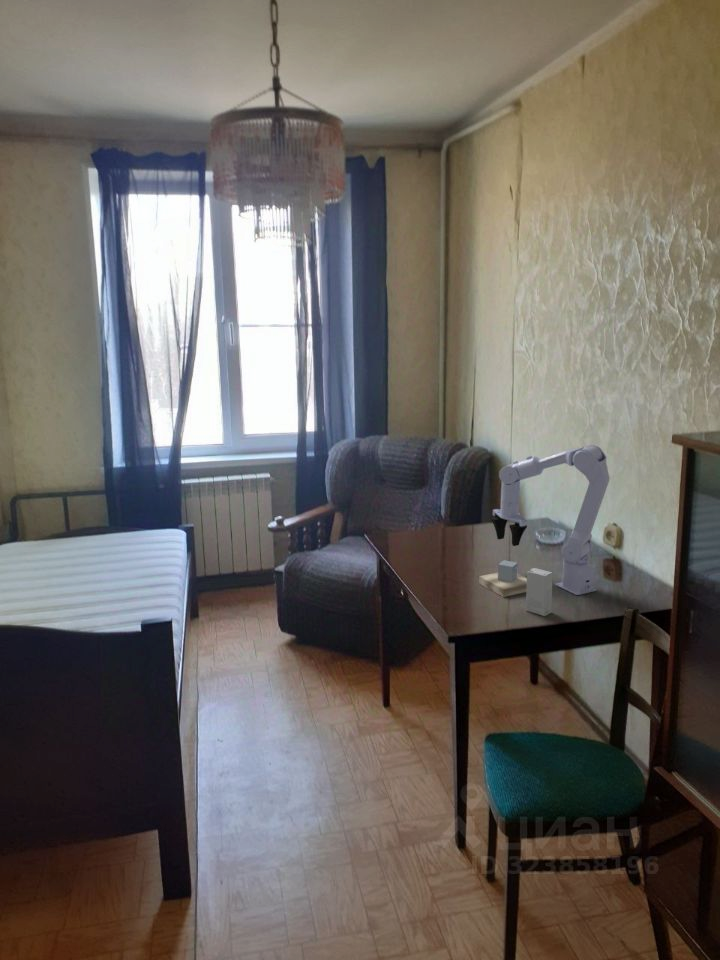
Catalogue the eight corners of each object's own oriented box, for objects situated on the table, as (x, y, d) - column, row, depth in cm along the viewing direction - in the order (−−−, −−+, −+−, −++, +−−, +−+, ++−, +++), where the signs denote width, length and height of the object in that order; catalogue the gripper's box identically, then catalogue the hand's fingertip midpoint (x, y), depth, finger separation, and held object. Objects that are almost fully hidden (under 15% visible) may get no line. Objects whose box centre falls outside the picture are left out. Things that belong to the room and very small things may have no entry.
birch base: (534, 590, 212) (535, 582, 212) (503, 597, 207) (503, 589, 206) (509, 577, 223) (509, 570, 222) (478, 583, 217) (479, 576, 217)
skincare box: (551, 612, 196) (554, 571, 193) (543, 617, 193) (546, 576, 190) (532, 606, 200) (534, 566, 198) (524, 611, 197) (526, 570, 194)
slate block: (516, 578, 215) (517, 562, 214) (511, 582, 212) (512, 567, 210) (502, 575, 218) (503, 560, 216) (497, 579, 214) (498, 564, 213)
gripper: (534, 505, 217) (532, 546, 220) (505, 495, 230) (503, 534, 233) (517, 507, 214) (515, 549, 217) (488, 497, 227) (486, 537, 230)
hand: (507, 542), depth 225 cm, fingers open, 7 cm apart
